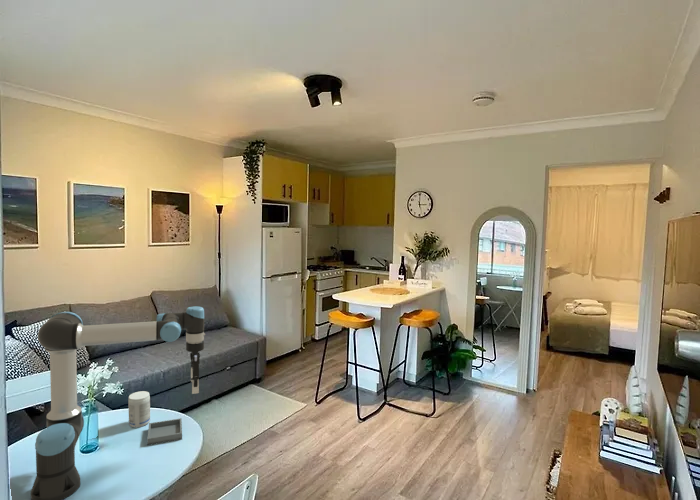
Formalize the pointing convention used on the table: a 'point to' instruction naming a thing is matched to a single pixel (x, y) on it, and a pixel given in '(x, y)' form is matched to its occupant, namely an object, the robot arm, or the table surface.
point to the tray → (164, 431)
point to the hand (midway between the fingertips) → (194, 386)
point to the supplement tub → (139, 409)
